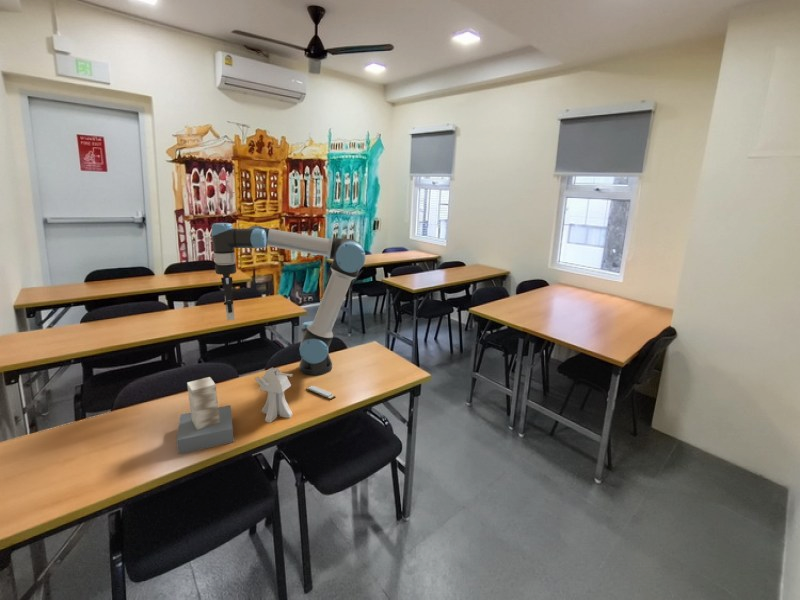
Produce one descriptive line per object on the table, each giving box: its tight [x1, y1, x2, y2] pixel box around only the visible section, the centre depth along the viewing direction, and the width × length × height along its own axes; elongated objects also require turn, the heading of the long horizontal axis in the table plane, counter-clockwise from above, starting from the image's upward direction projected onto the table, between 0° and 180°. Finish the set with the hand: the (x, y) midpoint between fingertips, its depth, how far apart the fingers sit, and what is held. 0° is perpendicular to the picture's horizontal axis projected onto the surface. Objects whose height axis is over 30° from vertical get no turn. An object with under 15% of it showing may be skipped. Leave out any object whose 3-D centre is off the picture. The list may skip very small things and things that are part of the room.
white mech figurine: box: [254, 366, 294, 423], centre depth 144 cm, size 12×13×18 cm
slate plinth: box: [176, 405, 235, 455], centre depth 132 cm, size 16×16×5 cm
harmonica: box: [305, 385, 336, 401], centre depth 161 cm, size 15×3×2 cm, turn 54°
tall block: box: [186, 376, 220, 430], centre depth 130 cm, size 7×7×14 cm
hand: (230, 315), depth 158 cm, fingers open, 13 cm apart
